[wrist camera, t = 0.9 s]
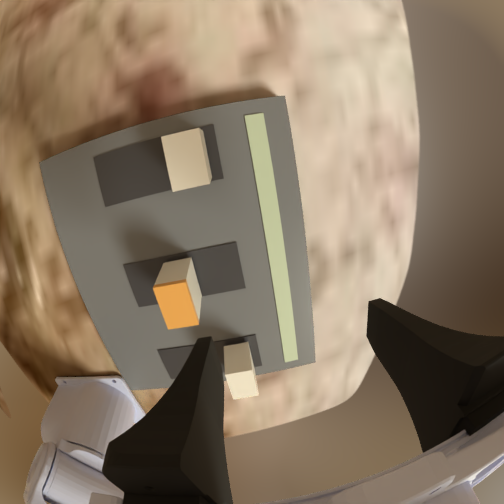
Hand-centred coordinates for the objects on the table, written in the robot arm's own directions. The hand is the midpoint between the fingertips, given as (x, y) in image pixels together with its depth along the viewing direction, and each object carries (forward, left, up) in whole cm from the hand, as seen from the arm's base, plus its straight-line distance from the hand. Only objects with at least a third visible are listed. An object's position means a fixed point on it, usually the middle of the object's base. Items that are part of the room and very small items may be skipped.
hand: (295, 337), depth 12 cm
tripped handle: (-6, 0, -8) cm, 10 cm away
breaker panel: (-6, 0, -10) cm, 12 cm away
